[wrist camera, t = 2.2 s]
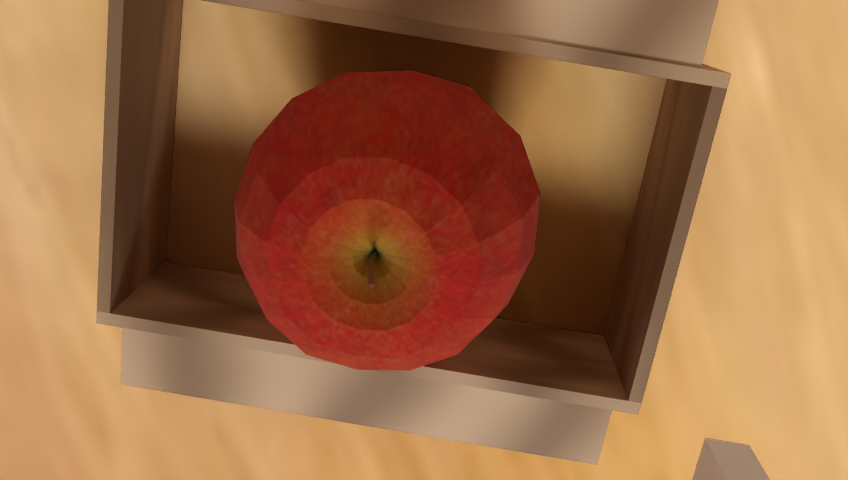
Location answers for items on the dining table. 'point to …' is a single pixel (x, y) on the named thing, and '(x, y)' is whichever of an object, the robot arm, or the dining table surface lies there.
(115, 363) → the dining table surface
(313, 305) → the apple
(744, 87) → the dining table surface
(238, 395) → the brown shallow open box
